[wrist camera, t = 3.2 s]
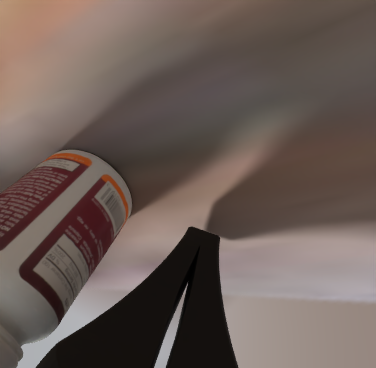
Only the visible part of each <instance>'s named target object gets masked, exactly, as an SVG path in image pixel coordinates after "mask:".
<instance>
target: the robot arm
mask: <svg viewBox="0 0 376 368" xmlns="http://www.w3.org/2000/svg"><path fill="white" fill-rule="evenodd" d="M219 243H220V237H219V236H218V235H215V234H212V233H209V232H206V231H203V230H200V229H198V228H195V227H189V228H188V230H187V232H186V233H185V235H184V236H183V238H182V239H181V241H180V242H179V243H178V244H177V246H176V247H175V248H174V250H173V251H172V252H171V253H170V254H169V255H168V256H167V258H166V259H165V260H164V261H163V262H162V263H161V264H160V265H159V266H158V267H157V268H156V269H155V270H154V271H153V272H152V273H151V274H150V275H149V276H148V277H147V278H146V279H145V280H144V281H143V282H142V283H141V284H140V285H138V286H137V287H136V288H135V289H134V290H133V291H131V292H130V293H129V294H128V295H127V296H125V297H124V298H123V299H122V300H120V301H119V302H118V303H116V304H115V305H114V306H113V307H111V308H110V309H108V310H107V311H106V312H104V313H103V314H101V315H100V316H99V317H97V318H96V319H94V320H93V321H92V322H90V323H88V324H87V325H85V326H84V327H82V328H81V329H79V330H77V331H76V332H74V333H73V334H71V335H70V336H68V337H66V338H64V339H63V340H61V341H60V342H58V343H57V344H56V345H55V346H54V347H53V348H52V349H51V350H50V351H49V352H48V353H47V354H46V356H45V357H44V358H43V359H42V360H41V361H40V363H39V364H38V365H37V367H36V368H154V366H155V363H156V360H157V357H158V354H159V351H160V348H161V345H162V343H163V340H164V337H165V334H166V332H167V329H168V327H169V324H170V322H171V320H172V318H173V315H174V313H175V311H176V308H177V306H178V304H179V301H180V299H181V297H182V295H183V292H184V290H185V288H186V286H187V283H188V286H187V290H186V294H185V298H184V303H183V307H182V312H181V316H180V320H179V324H178V329H177V332H176V336H175V340H174V343H173V346H172V349H171V352H170V356H169V359H168V362H167V365H166V368H238V365H237V361H236V358H235V354H234V351H233V347H232V344H231V339H230V335H229V331H228V327H227V322H226V317H225V312H224V307H223V299H222V293H221V284H220V273H219Z"/></svg>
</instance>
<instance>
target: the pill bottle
mask: <svg viewBox="0 0 376 368" xmlns="http://www.w3.org/2000/svg"><path fill="white" fill-rule="evenodd" d="M131 209H132V199H131V195H130V191H129V189H128V187H127V185H126V183H125V182H124V180H123V179H122V177H121V176H120V175H119V174H118V173H117V172H116V171H115V170H114V169H113V168H112V167H111V166H110V165H109V164H108V163H106V162H105V161H103V160H102V159H100V158H99V157H97V156H95V155H93V154H91V153H88V152H84V151H80V150H63V151H59V152H57V153H55V154H53V155H51V156H50V157H49V158H47V159H46V160H45V161H43V162H42V163H40V164H39V165H38V166H36V167H35V168H34V169H32V170H31V171H30V172H29V173H27V174H26V175H25V176H23V177H22V178H21V179H19V180H18V181H17V182H15V183H14V184H13V185H11V186H10V187H8V188H7V189H6V190H5V191H3V192H2V193H1V194H0V368H16V367H17V364H18V361H20V360H21V359H22V357H23V351H22V349H21V346H22V345H23V344H26V343H33V342H37V341H40V340H42V339H44V338H46V337H47V336H49V335H50V334H51V333H52V332H53V331H54V330H55V329H56V328H57V326H58V325H59V324H60V322H61V320H62V318H63V317H64V315H65V314H66V312H67V311H68V309H69V308H70V306H71V305H72V303H73V302H74V300H75V298H76V297H77V295H78V294H79V292H80V291H81V289H82V288H83V286H84V285H85V284H86V282H87V280H88V279H89V277H90V276H91V274H92V273H93V271H94V270H95V268H96V267H97V265H98V264H99V262H100V261H101V259H102V258H103V256H104V255H105V253H106V252H107V250H108V248H109V247H110V245H111V244H112V242H113V241H114V239H115V238H116V236H117V235H118V233H119V232H120V230H121V229H122V227H123V225H124V224H125V223H126V221H127V219H128V218H129V216H130V214H131Z"/></svg>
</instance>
